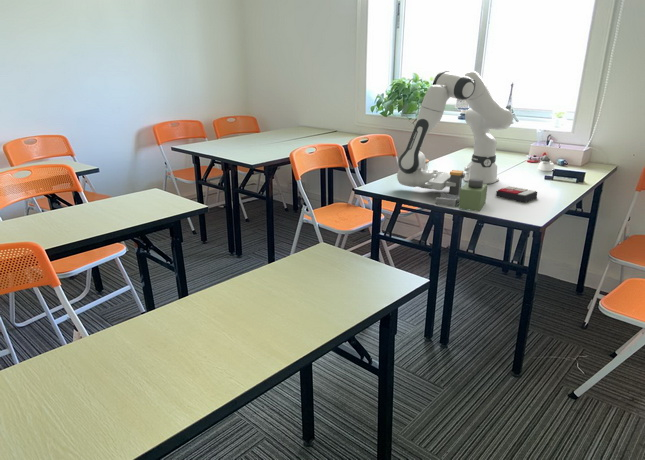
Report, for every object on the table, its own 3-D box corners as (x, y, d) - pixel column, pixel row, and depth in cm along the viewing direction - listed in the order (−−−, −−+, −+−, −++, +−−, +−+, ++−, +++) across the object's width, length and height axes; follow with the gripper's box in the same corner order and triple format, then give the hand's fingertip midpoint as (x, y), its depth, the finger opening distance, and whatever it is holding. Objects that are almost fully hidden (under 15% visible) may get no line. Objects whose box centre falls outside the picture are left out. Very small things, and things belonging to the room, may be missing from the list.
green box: (458, 208, 211) (460, 182, 206) (464, 200, 221) (467, 175, 217) (479, 211, 206) (482, 184, 202) (485, 203, 217) (488, 177, 213)
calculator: (508, 185, 233) (537, 190, 222) (508, 193, 234) (537, 199, 223) (496, 189, 227) (525, 194, 215) (495, 198, 228) (524, 203, 217)
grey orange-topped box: (447, 196, 228) (449, 172, 223) (450, 194, 232) (452, 169, 228) (461, 198, 225) (463, 173, 221) (463, 195, 229) (466, 171, 225)
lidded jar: (405, 172, 276) (406, 156, 273) (421, 170, 280) (422, 154, 277) (416, 176, 267) (417, 159, 264) (431, 174, 271) (432, 158, 268)
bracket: (435, 203, 217) (436, 197, 216) (441, 198, 225) (441, 192, 224) (455, 206, 213) (455, 200, 212) (460, 201, 220) (460, 195, 219)
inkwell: (555, 168, 279) (558, 152, 275) (551, 175, 264) (554, 157, 261) (538, 167, 283) (541, 150, 280) (533, 173, 269) (536, 156, 265)
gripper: (423, 178, 223) (452, 181, 216) (435, 169, 239) (463, 172, 233) (422, 191, 225) (451, 194, 219) (434, 181, 242) (462, 184, 235)
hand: (457, 183), depth 226 cm, fingers closed on grey orange-topped box, 4 cm apart
